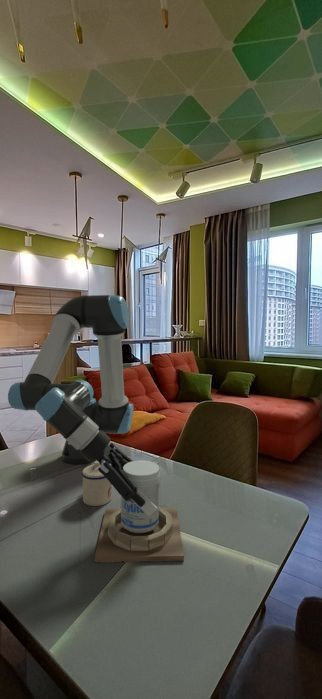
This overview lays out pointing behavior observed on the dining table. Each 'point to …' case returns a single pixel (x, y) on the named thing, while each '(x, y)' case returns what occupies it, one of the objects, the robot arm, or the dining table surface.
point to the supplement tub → (148, 483)
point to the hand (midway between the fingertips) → (152, 500)
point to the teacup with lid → (95, 486)
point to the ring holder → (140, 539)
